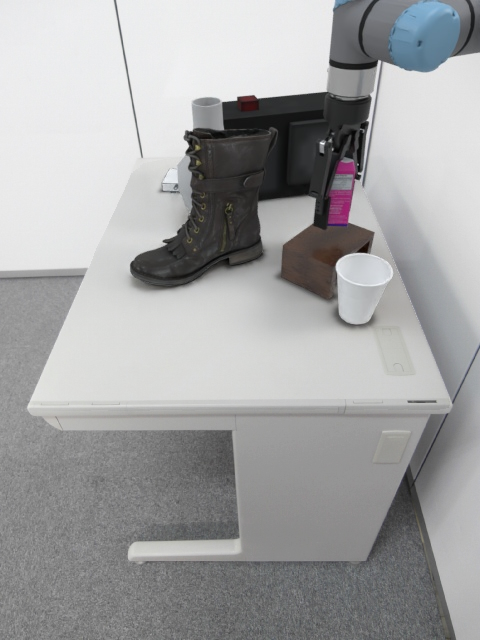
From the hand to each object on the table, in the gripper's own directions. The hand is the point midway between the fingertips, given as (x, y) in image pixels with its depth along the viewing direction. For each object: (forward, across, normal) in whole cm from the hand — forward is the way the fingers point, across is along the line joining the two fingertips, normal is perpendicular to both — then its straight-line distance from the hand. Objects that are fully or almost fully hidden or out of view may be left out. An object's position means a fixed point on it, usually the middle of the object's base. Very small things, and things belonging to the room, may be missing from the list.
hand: (331, 218), depth 87 cm
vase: (+13, -1, -34) cm, 36 cm away
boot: (+13, +15, -22) cm, 30 cm away
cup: (+13, +9, +12) cm, 20 cm away
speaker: (+13, -25, -31) cm, 42 cm away
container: (+13, -10, -54) cm, 56 cm away
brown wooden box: (+13, 0, 0) cm, 13 cm away
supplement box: (0, 0, 0) cm, 0 cm away
